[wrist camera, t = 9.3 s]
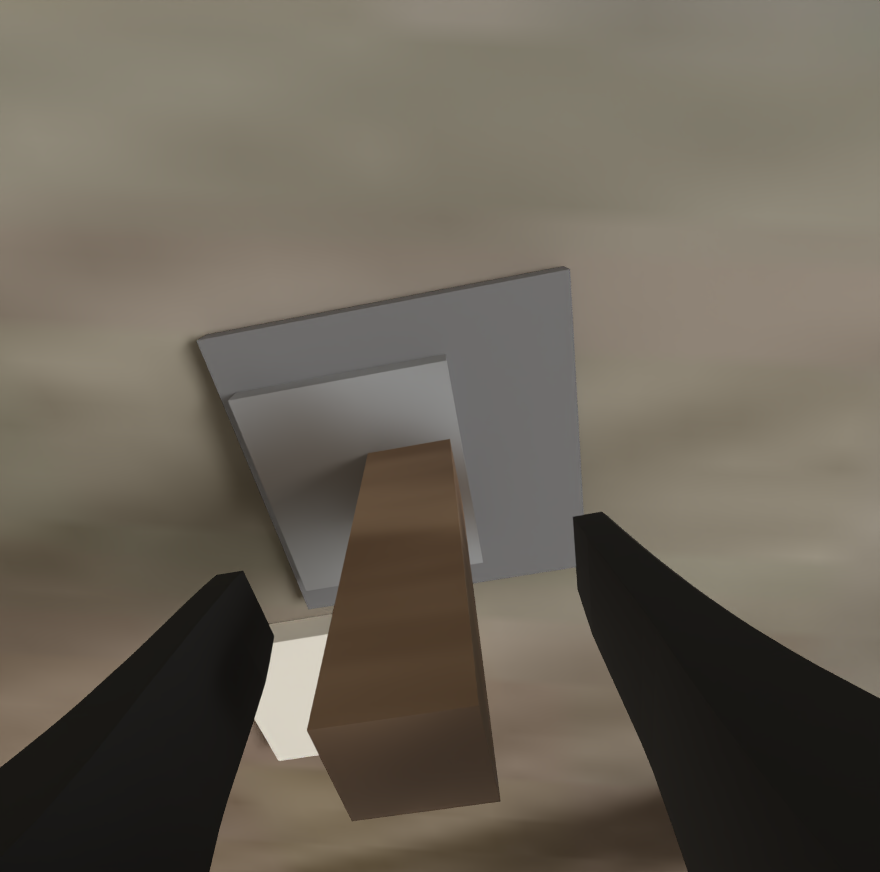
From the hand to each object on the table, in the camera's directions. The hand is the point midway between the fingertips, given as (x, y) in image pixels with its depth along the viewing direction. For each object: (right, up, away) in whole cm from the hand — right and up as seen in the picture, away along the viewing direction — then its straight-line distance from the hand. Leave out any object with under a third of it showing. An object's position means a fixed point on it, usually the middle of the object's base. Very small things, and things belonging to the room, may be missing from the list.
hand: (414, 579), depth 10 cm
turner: (-2, +2, +4) cm, 5 cm away
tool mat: (0, +2, +5) cm, 5 cm away
